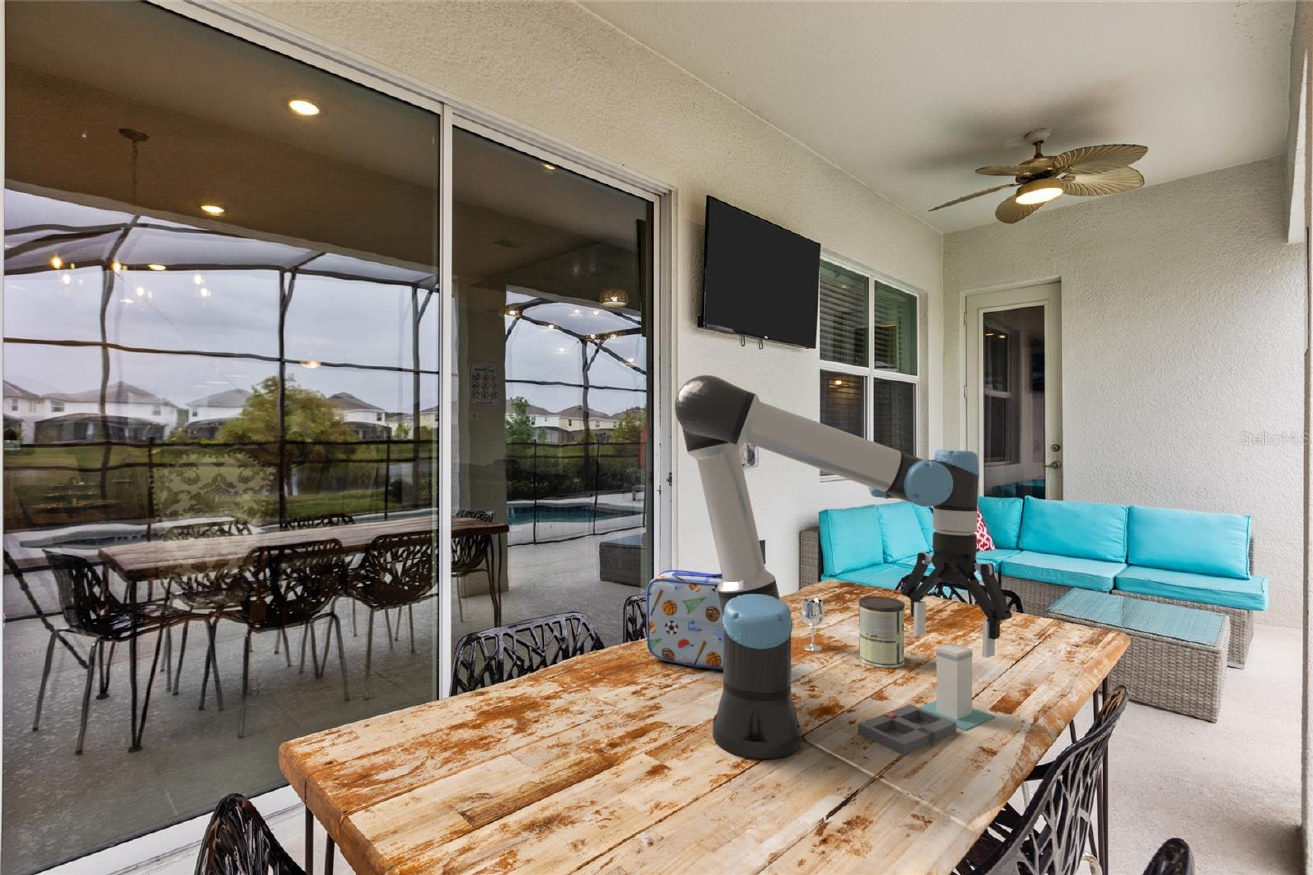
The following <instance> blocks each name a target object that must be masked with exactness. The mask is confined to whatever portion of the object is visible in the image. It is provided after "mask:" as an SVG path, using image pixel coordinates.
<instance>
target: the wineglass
mask: <svg viewBox="0 0 1313 875" xmlns="http://www.w3.org/2000/svg"><path fill="white" fill-rule="evenodd" d="M825 613H826V611H825V606H824V602H823V600H822V599H820V598H815V597H814V598H813V597H806V598H803V600H802V605H801V610H800V616H801V619H802V621H803V622H804V624H806V625H807V626H810V627H811V628H810V632H811V643H810V644H806V645H804V646H803V649H804V650H807V651H810V652H819V651H822V650H823V648H822V646H819V645H816V644H815V639H814V638H815V632H816V629H815V627H817V626H820V625H821V624H822V623H823V622H824V621H825V616H826V615H825Z"/></svg>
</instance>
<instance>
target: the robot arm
mask: <svg viewBox="0 0 1313 875" xmlns="http://www.w3.org/2000/svg"><path fill="white" fill-rule="evenodd" d="M674 412H675V416H676V419H677V421H678V423H679V424H680V425H681V429H682V434H683V438H684V442H685V447H686V448H685V449H686V452H687V454H688V455H689V456H691V457H692V458H693V459H695V460H696V461H697V466H698V467H697V468H698V471H699V476H700V481H701V486H702V489H703V490H702V491H703V494H704V499H705V504H706V509H707V513H708V517H709V522H710V527H711V530H712V532H711V533H712V535H713V540H714V543H715V548H716V554H717V558H718V564H719V568H720V572H721V573H722V580H721V582H720V583H719V585H718V586H717V590H718V595H719V600H720V604H721V609H722V614H723V626H724V658H723V675H722V676H723V677H722V678H723V679H722V681H723V682H722V684H723V686H722V693H721V696H720V700H719V704H718V708H717V711H716V714H715V715H714V717H713V722H712V738H713V740H714V741H715V743H716V744H717V745H718V746H719V747H721V748H722V749H724V750H725V751H727V752H729V753H732V754H733V755H737V756H740V757H744V758H745V757H746V758H750V759H760V760H761V759H762V760H768V759H769V760H770V759H780V758H784V757H787V756H790V755H791V754H794V753H795V752H797V751H798V750H799V748H801V745H802V727H801V724H800V722H799V720H798V716H797V711H796V708H795V705H794V702H793V701H794V700H793V697H792V632H793V628H794V627H793V619H792V611H791V609H790V607H789V605H788V604H787V603H786V602H784V601H783V600H782V599H781V598H780V592H779V588H778V584H777V580H776V576H775V575H774V574H772V573H771V572H769V571H768V570H767V569H766V566H765V562H764V557H763V556H764V555H763V553H762V549H761V548H762V547H761V544H760V540H759V534H758V531H757V530H758V529H757V525H756V521H755V517H754V516H755V515H754V512H753V507H752V503H751V498H750V495H749V489H748V484H747V480H746V475H745V471H744V466H743V463H742V458H741V453H740V450H741V448H742V446H743V445H744V443H747V444H750V445H753V446H755V447H758V448H760V449H763V450H767V451H769V452H771V453H772V452H773V453H774V454H777V455H780V456H783V457H786V458H788V459H791V460H794V461H796V462H799V463H802V464H805V465H808V466H811V467H814V468H817V469H819V470H822V471H824V472H827V473H830V474H833V475H836V476H838V477H842V478H844V479H847V480H850V481H852V482H855V483H859V484H861V485H863V486H866V487H868V492H869V493H870V495H871V496H872V497H874V498H879V499H880V498H882V499H886V500H888V499H899V500H902V501H905V502H910V503H912V504H915V505H917V506H920V507H933V514H932V517H933V518H932V528H933V529H934V530H935V531H934V532H933V533H932V550H933V554H931V553H930V552H929V551H923V552H918V553H917V555H916V556H917V557H916V563H915V565H914V567H913V569H912V570H911V573H910V575H909V577H908V578H907V580H906V582H905V584H904V587H903V588H902V590H901V595H902V596H903V597H907V598H908V599H909V600H910V617H912V618H913V632H912V633H913V637H920V636H925V635H926V613H927V612H926V611H927V610H926V608H927V604H926V602H927V601H925V600H924V597H925V596H926V595H928V593H929V592H930V591H931V590H932V589H933V588H934V587H935V586H936V585H937V584H938V583H940V581H941V580H942V581H945V582H953V584H954V583H955V584H959V585H960V584H962V585H963V587H965V588H966V589H967V590H968V592H969V593H970V595H971V596H972V597H973V600H975V602H976V604H977V605H978V607H979V608H980V610H981V611H982V613H984V615H985V617H986V618H985V619H983V620H982V648H981V650H982V652H981V653H982V656H981V657H983V658H986V659H987V658H991V657H994V656H995V651H996V648H995V646H996V640H998V639H1000V636H1001V634H1000V633H1001V621H1005V620H1009V619H1011V618H1012V617H1013V614H1012V612H1011V609H1010V607H1009V605H1008V602H1007V600H1006V597H1005V595H1004V592H1003V591H1002V589H1001V586H1000V584H999V582H998V580H997V577H996V573H995V565H994V564H993V563H992V562H986V563H978V561H977V559H976V558H977V553H978V536H977V535H976V534H975V533H977V531H978V503H979V502H978V501H979V500H978V496H979V479H980V470H979V468H980V464H979V457H978V454H977V453H975V452H974V451H971V450H943V449H939V450H936V451H935V453H934V456H933V459H923V458H919V457H917V456H914V455H912V454H909V453H905V452H902V451H900V450H898V449H894V448H892V447H889V446H887V445H884V444H880V443H878V442H874V441H873V440H870V439H867V438H864V437H861V436H858V435H854V434H852V433H849V432H847V431H844V430H840V429H839V428H836V427H833V426H829V425H827V424H824V423H821V422H818V421H816V420H813V419H811V418H807V417H804V416H802V415H798V414H796V413H792V412H790V411H787V410H785V409H782V408H779V407H776V406H773V405H771V404H767V403H765V402H762V401H761V399H760V398H759V396H758V394H757V393H754V392H751V391H748V390H745V389H743V388H742V387H739V386H736V385H735V384H732V383H730V382H728V381H726V380H724V379H722V378H720V377H718V376H714V375H710V374H709V375H706V374H705V375H704V374H703V375H699V376H698V375H697V376H695V377H692V378H690V379H689V380H687V381H686V382H684V383H683V385H682V386H681V387H680V389H679V390H678V392H677V394H676V396H675V401H674ZM931 564H932V566H933V567H934V569H933V570H932V571H931V572H930V573H929V575H928V576H927V578H926V579H925V580H923V582H922V583H921V580H922V579H923V577H924V576H925V574H926V571H927V569H928V568H929V565H931ZM976 572H978V575H980V577H981V580H982V582H983V585H984V588H985V590H986V591H985V590H984V588H983V587H982V585H981V584H980V580H979V579H978V577H977V576H976V574H975V573H976ZM721 573H720V574H721ZM986 592H987V593H986Z"/></svg>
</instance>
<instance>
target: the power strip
mask: <svg viewBox="0 0 1313 875" xmlns="http://www.w3.org/2000/svg"><path fill="white" fill-rule="evenodd" d="M918 707H919V706H916V705H913V704H908V705H905V706H902V707H899V708H897V709H896V708H895V709H893V710H891V711H888V712H885V713H882V714H881V715H878V716H874V717H872V718H869V719H866V720H864V721H861V722H859V723H858V724H857V734H859V736H862V737H864V738H866V739H868V740H870V741H872V742H874V743H877V744H879V745H881V746H883V747H885V748H887V749H889V750H892V751H893V752H895V753H898V754H900V755H902V756H906V755H908V754H912V753H913V752H916V751H919V750H920V749H922V748H925V747H927V746H930V745H932V744H934V743H936V742H939V741H941V740H942V739H945V738H948V737H949V736H952V735H954V734H957V727H956V722H953V721H951V720H948V719H946V718H943V717H941V716H938V715H936V714H933V713H931V712H928V711H926V710H923V709H921V708H918Z"/></svg>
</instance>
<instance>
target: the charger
mask: <svg viewBox="0 0 1313 875" xmlns="http://www.w3.org/2000/svg"><path fill="white" fill-rule="evenodd" d="M935 651H936V653H935V655H936V701H937V712H938V713H941V714H943V715H946V716H949V717H951V718H954V719H956V720H958V719H960V718H962V717H965V716H967V715H970V714H972V708H973V648H970V647H966V646H963V645H959V644H956V643H952V642H951V643H947V644H944V645H941V646H938V647H936V650H935Z"/></svg>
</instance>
